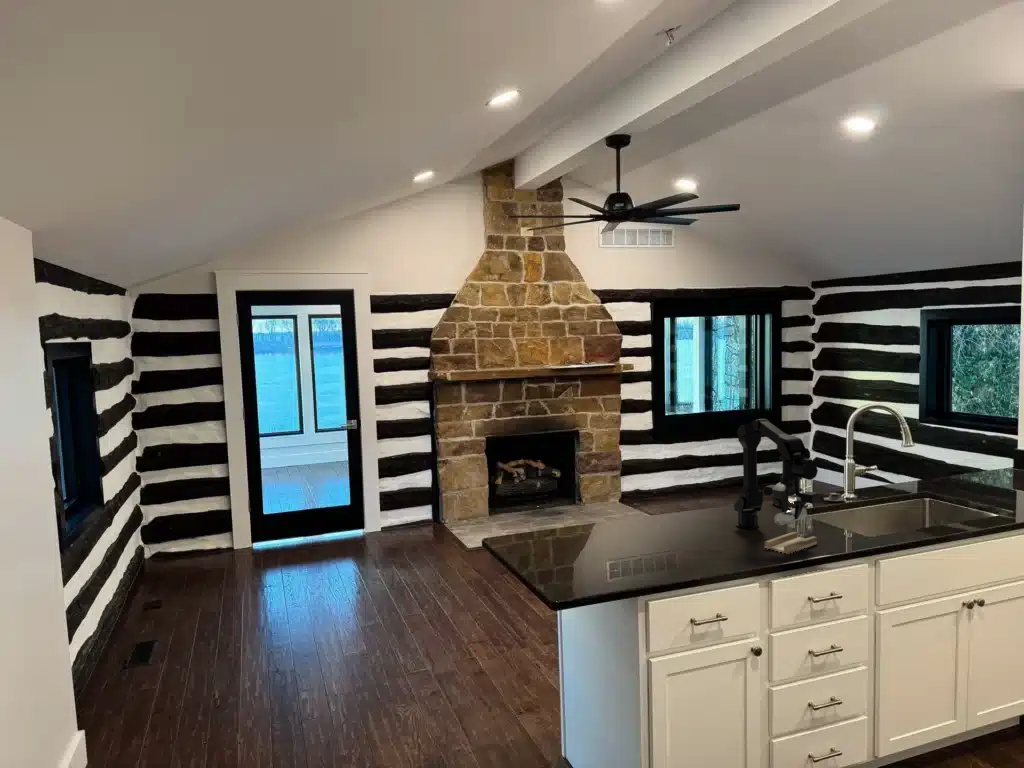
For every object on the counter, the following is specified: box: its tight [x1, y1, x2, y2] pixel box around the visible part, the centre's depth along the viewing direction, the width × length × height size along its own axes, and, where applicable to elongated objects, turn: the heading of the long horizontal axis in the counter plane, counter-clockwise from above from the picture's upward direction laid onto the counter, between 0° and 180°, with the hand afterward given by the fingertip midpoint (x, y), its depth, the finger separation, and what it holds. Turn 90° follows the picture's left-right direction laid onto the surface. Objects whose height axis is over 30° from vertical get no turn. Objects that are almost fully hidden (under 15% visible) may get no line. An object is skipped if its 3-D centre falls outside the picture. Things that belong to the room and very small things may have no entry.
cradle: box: [764, 531, 818, 555], centre depth 256 cm, size 9×18×2 cm, turn 127°
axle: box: [773, 507, 808, 526], centre depth 255 cm, size 14×4×4 cm, turn 127°
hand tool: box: [771, 495, 806, 509], centre depth 307 cm, size 19×4×5 cm, turn 14°
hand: (790, 518), depth 255 cm, fingers closed on axle, 4 cm apart
